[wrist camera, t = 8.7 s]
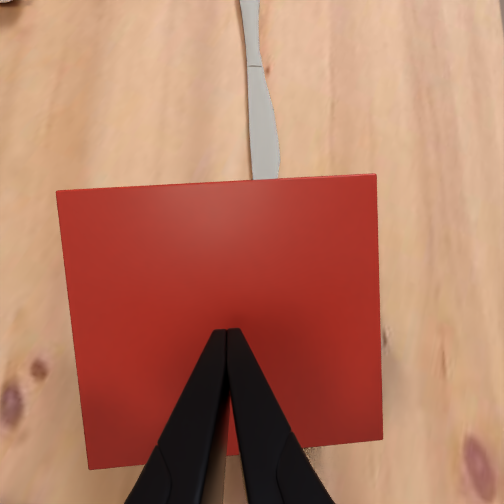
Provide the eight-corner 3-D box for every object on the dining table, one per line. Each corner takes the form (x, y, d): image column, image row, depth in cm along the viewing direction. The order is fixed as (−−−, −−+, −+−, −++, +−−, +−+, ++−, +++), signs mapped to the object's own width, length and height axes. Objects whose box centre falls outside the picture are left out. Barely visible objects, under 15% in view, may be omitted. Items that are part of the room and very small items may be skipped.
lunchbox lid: (66, 192, 12) (54, 190, 11) (368, 176, 13) (377, 172, 12) (96, 456, 13) (87, 471, 12) (375, 428, 14) (384, 440, 13)
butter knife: (267, -61, 26) (234, -63, 26) (284, 221, 22) (246, 222, 21) (265, -53, 26) (234, -56, 26) (283, 223, 22) (246, 224, 22)
